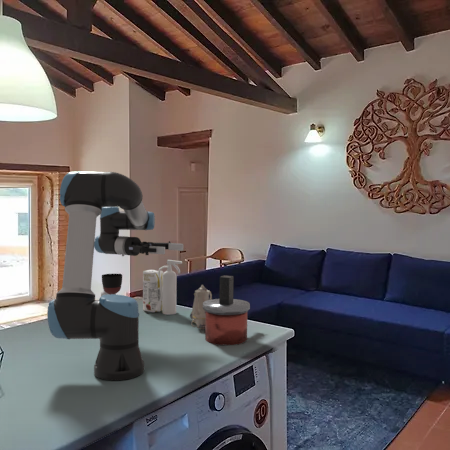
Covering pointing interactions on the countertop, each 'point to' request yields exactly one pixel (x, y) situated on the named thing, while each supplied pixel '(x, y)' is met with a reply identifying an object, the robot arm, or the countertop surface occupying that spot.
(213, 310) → the lid
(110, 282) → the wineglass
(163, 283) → the fire extinguisher
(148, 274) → the juice carton
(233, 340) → the pot
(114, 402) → the countertop surface
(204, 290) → the chinaware
